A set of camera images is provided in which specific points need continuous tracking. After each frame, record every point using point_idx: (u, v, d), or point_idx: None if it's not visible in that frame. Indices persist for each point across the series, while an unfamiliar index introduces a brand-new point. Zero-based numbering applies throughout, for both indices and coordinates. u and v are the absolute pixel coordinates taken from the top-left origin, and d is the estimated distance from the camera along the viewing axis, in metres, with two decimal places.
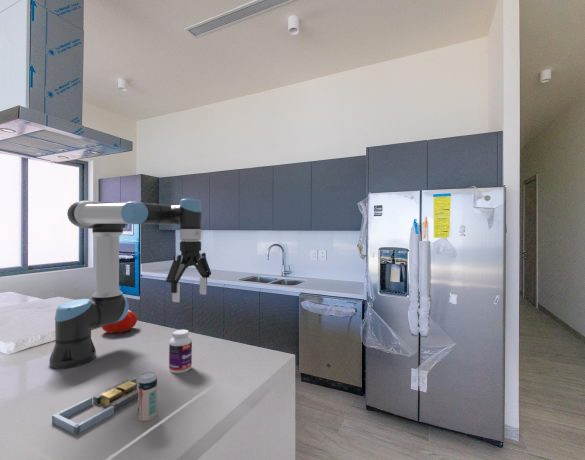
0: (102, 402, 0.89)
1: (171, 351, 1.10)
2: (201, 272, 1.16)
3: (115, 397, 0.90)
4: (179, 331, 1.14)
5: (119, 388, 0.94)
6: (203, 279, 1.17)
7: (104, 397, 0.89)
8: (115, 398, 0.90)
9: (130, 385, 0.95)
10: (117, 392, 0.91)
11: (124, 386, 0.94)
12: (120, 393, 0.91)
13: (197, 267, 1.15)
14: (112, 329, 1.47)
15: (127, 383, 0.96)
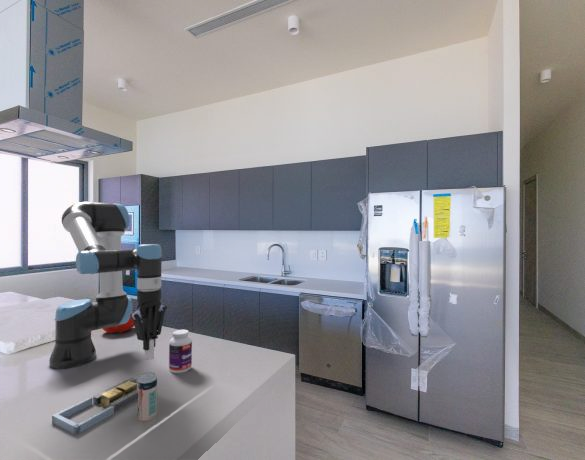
0: (102, 402, 0.89)
1: (171, 351, 1.10)
2: (151, 329, 1.03)
3: (115, 397, 0.90)
4: (179, 331, 1.14)
5: (119, 388, 0.94)
6: None
7: (104, 397, 0.89)
8: (115, 398, 0.90)
9: (130, 385, 0.95)
10: (117, 392, 0.91)
11: (124, 386, 0.94)
12: (120, 393, 0.91)
13: (150, 321, 1.03)
14: (112, 329, 1.47)
15: (127, 383, 0.96)
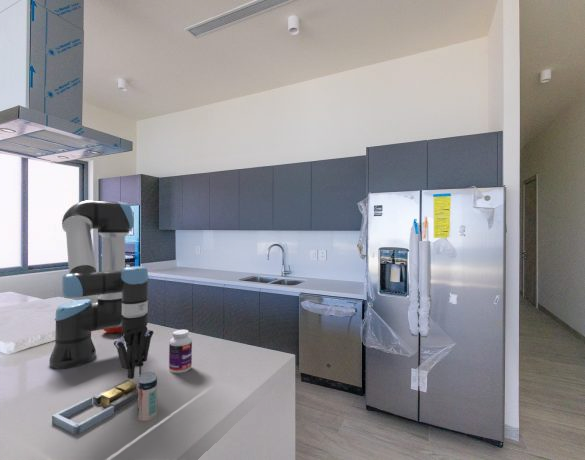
0: (102, 402, 0.89)
1: (171, 351, 1.10)
2: (136, 356, 0.98)
3: (115, 397, 0.90)
4: (179, 331, 1.14)
5: (119, 388, 0.94)
6: None
7: (104, 397, 0.89)
8: (115, 398, 0.90)
9: (130, 385, 0.95)
10: (117, 392, 0.91)
11: (124, 386, 0.94)
12: (120, 393, 0.91)
13: (136, 347, 0.98)
14: (112, 329, 1.47)
15: (127, 383, 0.96)
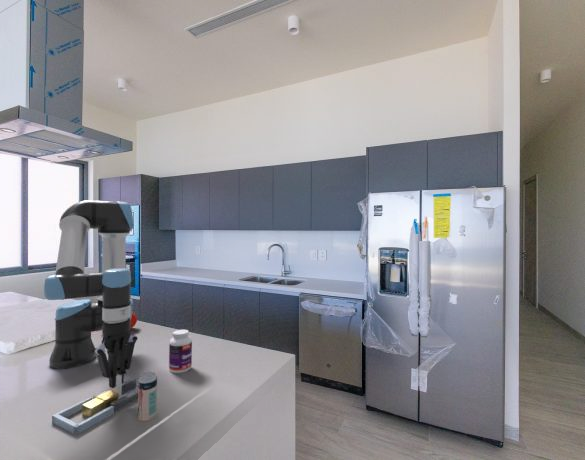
0: (83, 413, 0.85)
1: (171, 351, 1.10)
2: (119, 364, 0.92)
3: (97, 407, 0.85)
4: (179, 331, 1.14)
5: (99, 398, 0.88)
6: None
7: (85, 407, 0.84)
8: (97, 408, 0.85)
9: (111, 395, 0.89)
10: (99, 402, 0.86)
11: (105, 396, 0.89)
12: (103, 403, 0.86)
13: (118, 354, 0.93)
14: None
15: (108, 393, 0.90)
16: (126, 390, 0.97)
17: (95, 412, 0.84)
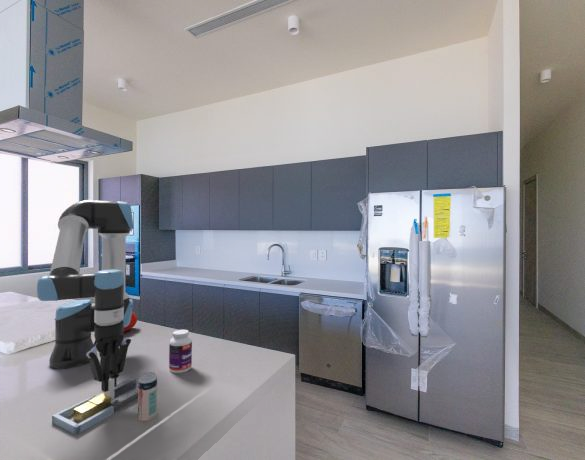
0: (75, 417, 0.83)
1: (171, 351, 1.10)
2: (111, 367, 0.90)
3: (89, 411, 0.83)
4: (179, 331, 1.14)
5: (91, 402, 0.86)
6: None
7: (77, 412, 0.82)
8: (89, 413, 0.83)
9: (103, 399, 0.87)
10: (91, 406, 0.84)
11: (97, 400, 0.87)
12: (95, 407, 0.84)
13: (111, 357, 0.90)
14: None
15: (100, 396, 0.88)
16: (126, 390, 0.97)
17: (87, 417, 0.82)
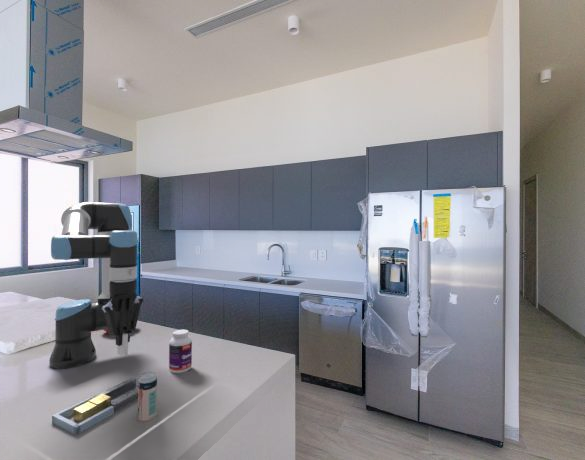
0: (75, 417, 0.83)
1: (171, 351, 1.10)
2: (125, 323, 0.94)
3: (89, 411, 0.83)
4: (179, 331, 1.14)
5: (91, 402, 0.86)
6: None
7: (77, 412, 0.82)
8: (89, 413, 0.83)
9: (103, 399, 0.87)
10: (91, 406, 0.84)
11: (97, 400, 0.87)
12: (95, 407, 0.84)
13: (124, 314, 0.95)
14: None
15: (100, 396, 0.88)
16: (126, 390, 0.97)
17: (87, 417, 0.82)
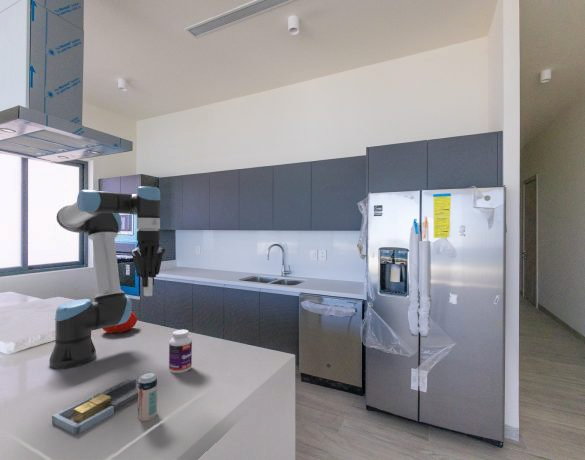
0: (75, 417, 0.83)
1: (171, 351, 1.10)
2: (150, 268, 1.08)
3: (89, 411, 0.83)
4: (179, 331, 1.14)
5: (91, 402, 0.86)
6: None
7: (77, 412, 0.82)
8: (89, 413, 0.83)
9: (103, 399, 0.87)
10: (91, 406, 0.84)
11: (97, 400, 0.87)
12: (95, 407, 0.84)
13: (149, 260, 1.08)
14: (112, 329, 1.47)
15: (100, 396, 0.88)
16: (126, 390, 0.97)
17: (87, 417, 0.82)
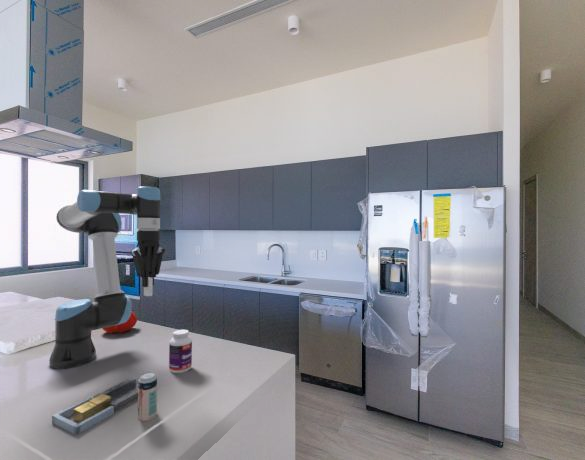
0: (75, 417, 0.83)
1: (171, 351, 1.10)
2: (150, 268, 1.08)
3: (89, 411, 0.83)
4: (179, 331, 1.14)
5: (91, 402, 0.86)
6: None
7: (77, 412, 0.82)
8: (89, 413, 0.83)
9: (103, 399, 0.87)
10: (91, 406, 0.84)
11: (97, 400, 0.87)
12: (95, 407, 0.84)
13: (149, 260, 1.08)
14: (112, 329, 1.47)
15: (100, 396, 0.88)
16: (126, 390, 0.97)
17: (87, 417, 0.82)
